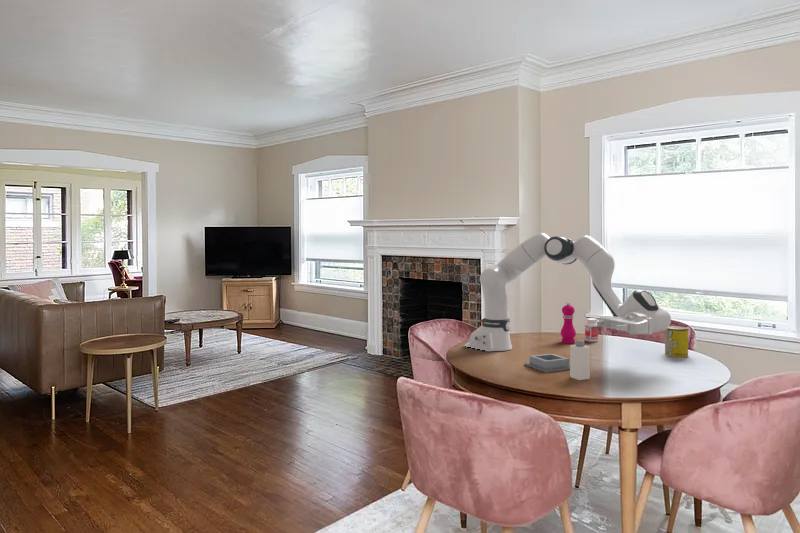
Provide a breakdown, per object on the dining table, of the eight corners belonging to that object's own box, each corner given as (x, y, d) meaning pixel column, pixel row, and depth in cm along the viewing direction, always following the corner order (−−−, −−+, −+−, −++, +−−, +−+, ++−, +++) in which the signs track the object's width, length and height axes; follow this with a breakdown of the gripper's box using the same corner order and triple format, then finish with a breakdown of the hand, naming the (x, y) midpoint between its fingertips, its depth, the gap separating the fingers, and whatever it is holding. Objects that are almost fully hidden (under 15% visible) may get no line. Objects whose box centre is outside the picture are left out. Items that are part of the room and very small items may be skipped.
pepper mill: (576, 344, 271) (576, 302, 270) (561, 343, 272) (561, 302, 271) (575, 341, 278) (575, 301, 277) (559, 340, 279) (560, 301, 278)
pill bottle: (599, 340, 279) (599, 318, 278) (597, 342, 274) (597, 320, 273) (586, 339, 282) (586, 317, 281) (583, 341, 277) (584, 319, 276)
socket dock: (524, 365, 229) (524, 355, 229) (552, 361, 234) (552, 352, 234) (545, 372, 216) (545, 362, 216) (574, 369, 221) (574, 359, 221)
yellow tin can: (672, 352, 250) (672, 325, 249) (692, 355, 243) (692, 328, 242) (660, 354, 245) (661, 327, 244) (680, 358, 238) (681, 330, 237)
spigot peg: (570, 377, 210) (570, 340, 209) (580, 375, 212) (581, 338, 211) (579, 380, 205) (579, 342, 204) (590, 378, 207) (590, 341, 206)
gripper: (615, 312, 226) (587, 314, 221) (655, 318, 207) (626, 321, 202) (615, 327, 227) (587, 330, 222) (655, 335, 208) (626, 338, 203)
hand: (606, 326), depth 212 cm, fingers open, 8 cm apart
